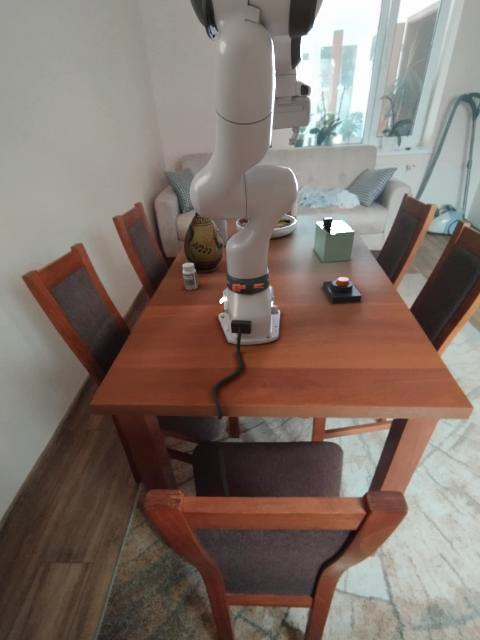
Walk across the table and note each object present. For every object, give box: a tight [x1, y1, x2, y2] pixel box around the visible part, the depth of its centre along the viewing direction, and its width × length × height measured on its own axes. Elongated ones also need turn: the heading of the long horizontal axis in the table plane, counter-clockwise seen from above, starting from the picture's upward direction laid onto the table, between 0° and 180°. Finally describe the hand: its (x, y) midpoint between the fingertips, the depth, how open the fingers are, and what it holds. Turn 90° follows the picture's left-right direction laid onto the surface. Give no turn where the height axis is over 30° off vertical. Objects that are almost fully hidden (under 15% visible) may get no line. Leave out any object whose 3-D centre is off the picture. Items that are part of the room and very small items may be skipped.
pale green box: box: [313, 220, 355, 263], centre depth 133 cm, size 18×11×11 cm, turn 4°
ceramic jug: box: [183, 211, 225, 274], centre depth 122 cm, size 17×15×30 cm
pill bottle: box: [182, 262, 199, 291], centre depth 115 cm, size 5×5×8 cm
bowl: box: [235, 214, 297, 239], centre depth 164 cm, size 30×30×8 cm
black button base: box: [322, 278, 363, 305], centre depth 107 cm, size 12×9×4 cm
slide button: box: [322, 216, 334, 227], centre depth 129 cm, size 2×3×3 cm
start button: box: [336, 276, 350, 286], centre depth 105 cm, size 4×4×2 cm
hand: (280, 146), depth 104 cm, fingers open, 8 cm apart
